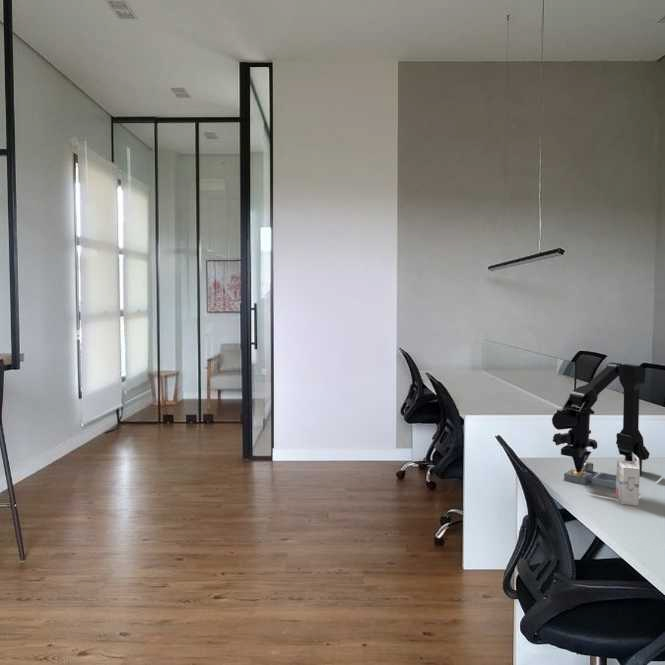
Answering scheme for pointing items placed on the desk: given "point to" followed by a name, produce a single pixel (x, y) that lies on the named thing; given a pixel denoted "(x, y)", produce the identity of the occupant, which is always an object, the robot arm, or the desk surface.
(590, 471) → the cylinder
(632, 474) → the ink cartridge box
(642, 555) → the desk surface
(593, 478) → the cup
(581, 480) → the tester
